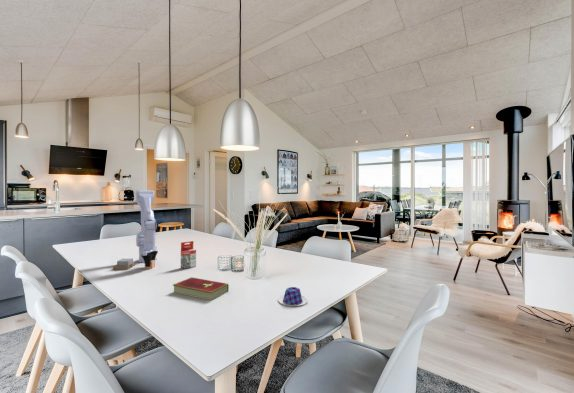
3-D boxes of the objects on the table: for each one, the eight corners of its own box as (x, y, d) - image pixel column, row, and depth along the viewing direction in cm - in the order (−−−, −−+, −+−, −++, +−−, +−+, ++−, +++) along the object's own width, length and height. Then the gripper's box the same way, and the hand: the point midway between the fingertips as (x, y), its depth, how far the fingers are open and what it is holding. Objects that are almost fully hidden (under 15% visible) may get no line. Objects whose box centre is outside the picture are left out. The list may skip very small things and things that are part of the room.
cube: (147, 266, 163) (147, 260, 163) (154, 266, 163) (154, 260, 163) (144, 268, 159) (144, 261, 159) (152, 268, 159) (152, 261, 159)
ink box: (196, 266, 165) (196, 241, 164) (183, 269, 159) (183, 243, 159) (193, 265, 167) (193, 240, 167) (180, 267, 162) (180, 242, 161)
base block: (120, 266, 165) (120, 262, 164) (134, 266, 165) (134, 262, 165) (113, 270, 157) (113, 266, 156) (127, 270, 157) (127, 266, 157)
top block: (122, 262, 164) (122, 258, 163) (133, 262, 164) (133, 258, 164) (117, 265, 158) (116, 261, 157) (128, 265, 158) (128, 261, 158)
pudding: (290, 294, 125) (290, 282, 124) (313, 301, 117) (313, 288, 117) (272, 302, 115) (272, 289, 115) (295, 310, 108) (295, 297, 107)
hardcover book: (192, 285, 135) (192, 276, 135) (228, 292, 126) (228, 282, 126) (172, 293, 124) (172, 284, 124) (211, 301, 115) (211, 291, 115)
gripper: (148, 239, 168) (148, 261, 168) (136, 244, 153) (136, 268, 154) (160, 239, 168) (160, 261, 169) (150, 244, 154) (150, 268, 154)
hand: (149, 265), depth 161 cm, fingers open, 5 cm apart
